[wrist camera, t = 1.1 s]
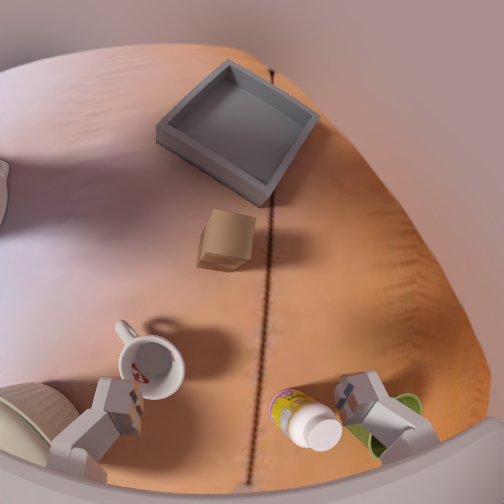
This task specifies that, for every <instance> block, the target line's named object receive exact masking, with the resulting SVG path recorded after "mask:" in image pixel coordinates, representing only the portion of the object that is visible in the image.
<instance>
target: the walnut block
mask: <svg viewBox="0 0 504 504" xmlns="http://www.w3.org/2000/svg"><path fill="white" fill-rule="evenodd" d="M255 220H256V218H255V217H250V216H245V215H241V214H236V213H231V212H226V211H221V210H216V209H213V211H212V213H211V215H210V217H209V220H208V222H207V224H206V226H205V228H204V230H203V233H202V235H201V240H200V246H199V252H198V259H197V265H196V267H199V268H205V269H211V270H217V271H223V272H230V271H232V270H234V269H235V268H237V267H239V266H241V265H242V264H244V263H246V262H248V261H249V260H250V259H251V252H252V244H253V236H254V228H255Z"/></svg>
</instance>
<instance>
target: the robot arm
mask: <svg viewBox="0 0 504 504" xmlns="http://www.w3.org/2000/svg"><path fill="white" fill-rule="evenodd" d="M8 173H9V165H8V164H7V163H6V162H4V161H2V160H0V225H1V223H2V221H3V218H4V215H5V211H6V207H7V200H8V191H7V178H8ZM339 381H340V384H338V385H337V386H336V387H335V390H334V396H333V397H334V402H335V405H336V407H338V408H339V409H340V413H339V416H340V419H341V422H342V424H343V426H349V425H354V424H359V423H361V425H362V426H363V427H364V428H365V429H366V430H368V431H369V432H370V433H371V434H372V435H373V436H374V437H375V438H377V439H378V440H379V441H380V442H381V443H382V444H383V445H385V446H386V447H387V449H386V450H385V451H384V452H383V453H382V454H381V456H380V459H381V462H382V465H383V466H381V467H378V468H375V469H372V470H368V471H365V472H362V473H358V474H355V475H351V476H347V477H343V478H339V479H335V480H331V481H326V482H322V483H317V484H312V485H306V486H301V487H295V488H288V489H281V490H273V491H263V492H252V493H236V494H185V493H169V492H158V491H149V490H141V489H134V488H127V487H121V486H116V485H110V484H107V473H106V471H105V470H104V469H103V468H102V467H101V466H100V465H99V464H98V461H99V460H100V459H101V458H102V457H103V455H104V454H105V453H106V452H107V451H108V449H109V448H110V447H111V446H112V445H113V443H114V442H115V441H116V440H117V439H118V437H119V436H120V434H126V435H136V436H140V433H141V425H142V422H141V419H140V416H141V415H142V414H143V408H144V400H143V394H142V392H141V391H140V390H139V387H140V385H139V383H138V381H135V380H126V379H118V378H112V377H104V376H101V378H100V379H99V382H98V385H97V389H96V393H95V396H94V400H93V404H92V408H91V409H87V410H86V411H85V412H84V413H83V414H81V415H80V416H79V417H78V418H77V419H76V420H75V421H73V422H72V423H71V424H70V425H69V426H68V427H67V428H66V429H64V430H63V431H62V432H61V433H60V434H59V435H58V436H56V437H55V438H54V439H53V440H52V443H51V447H50V451H49V455H48V459H47V464H46V467H44V466H41V465H38V464H36V463H33V462H30V461H28V460H25V459H23V458H20V457H18V456H16V455H13V454H11V453H9V452H7V451H4V450H2V449H0V504H504V422H502V421H501V420H499V419H497V418H494V417H487V418H485V419H483V420H481V421H480V422H478V423H476V424H475V425H473V426H471V427H469V428H467V429H466V430H464V431H462V432H460V433H458V434H456V435H454V436H453V437H451V438H449V439H447V440H445V441H442V442H440V441H439V439H438V437H437V435H436V433H435V431H434V429H433V427H432V425H431V423H430V421H428V420H427V419H425V418H424V417H422V416H421V415H419V414H417V413H416V412H414V411H413V410H411V409H410V408H408V407H407V406H405V405H404V404H402V403H401V402H399V401H398V400H396V399H395V398H393V397H391V398H390V397H389V395H388V393H387V391H386V389H385V387H384V385H383V384H382V382H381V380H380V378H379V376H378V374H377V372H376V371H375V370H370V371H365V372H357V373H351V374H345V375H342V376H341V377H340V379H339Z"/></svg>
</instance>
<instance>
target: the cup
mask: <svg viewBox="0 0 504 504" xmlns="http://www.w3.org/2000/svg"><path fill="white" fill-rule="evenodd" d="M115 330H116V332H117V333H118V335H119V336H120V338H121V339H122V340H123V341H124V343H125V347H124V349H123V350H122V352H121V355H120V358H119V371H120V375H121V378H122V379H126V380H135V381H138V383H139V385H140V387H139V390H140V391H141V392H142V394H143V398H145V399H150V400H159V399H164V398H167V397H169V396H171V395H172V394H174V393H175V392H176V391H177V390H178V389H179V388H180V386H181V385H182V383H183V380H184V377H185V362H184V359H183V357H182V355H181V353H180V351H179V350H178V348H177V347H176V346H175V345H174V344H173V343H171V342H170V341H169V340H167V339H166V338H164V337H162V336H158V335H143V336H139V335H138V334H137V333H136V332H135V330H134V329H133V328H132V327H131V326H130V325H129V324H128V323H127V322H126V321H125V320H120V321H118V322H117V323H116V324H115Z"/></svg>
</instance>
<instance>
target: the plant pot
mask: <svg viewBox="0 0 504 504" xmlns="http://www.w3.org/2000/svg"><path fill="white" fill-rule="evenodd" d="M389 397H390V398H391V397H393V398H395V399H396V400H398V401H399V402H401V403H402V404H404V405H405V406H407V407H408V408H410V409H411V410H413V411H414V412H416V413H417V414H419V415H421V416H422V415H423V409H422V403H421V401H420V399H419V398H418V397H417V396H416V395H415V394H412V393H404V394H400V395H393V396H389ZM345 427H346V428H347V429H348V430H350V431H351V432H352V433H353V434H354V435H355V436H356V437H357V438H358V439H359V440H360V441H361V442H363V443H364V445H365V446H366V448H367V449H368V450H369V453H370V455H371V456H372V457H373V458H374V459H375V460H378V461H381V459H380V456H381V454H382V453H383V452H384V451H385V450H386V449H387V447H386V446H385V445H383V444H382V443H381V442H380V441H379V440H378V439H377V438H375V437H374V436H373V435H372V434H371V433H370V432H369V431H368V430H366V429H365V428H364V427H363V426H362V425H361V423H359V424H354V425H349V426H345Z"/></svg>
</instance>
